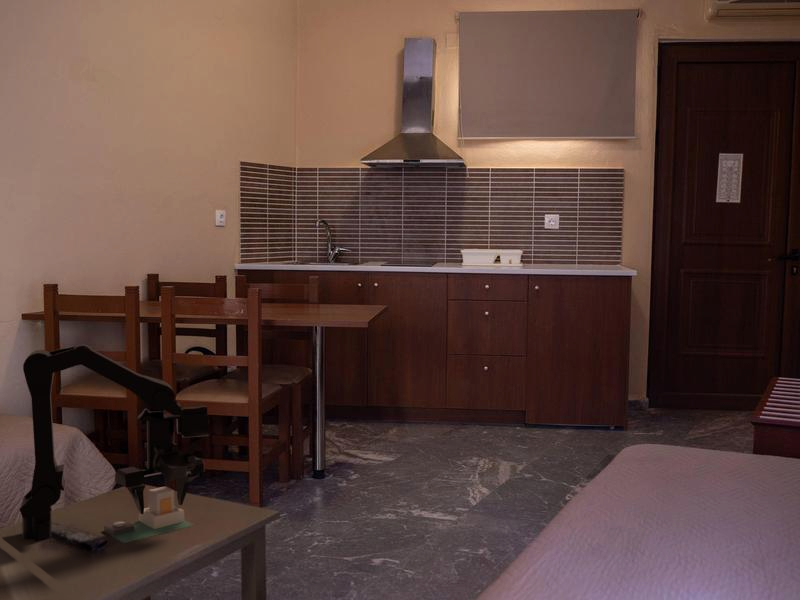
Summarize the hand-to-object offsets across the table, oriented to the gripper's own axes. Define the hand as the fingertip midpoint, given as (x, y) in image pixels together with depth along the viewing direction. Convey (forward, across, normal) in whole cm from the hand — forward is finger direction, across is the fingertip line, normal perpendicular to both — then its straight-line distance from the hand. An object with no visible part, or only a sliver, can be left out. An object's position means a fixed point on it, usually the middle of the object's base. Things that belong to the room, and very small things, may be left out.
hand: (161, 509), depth 177 cm
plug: (+3, 0, 0) cm, 3 cm away
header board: (+4, -4, -2) cm, 6 cm away
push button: (+4, -10, 0) cm, 10 cm away
